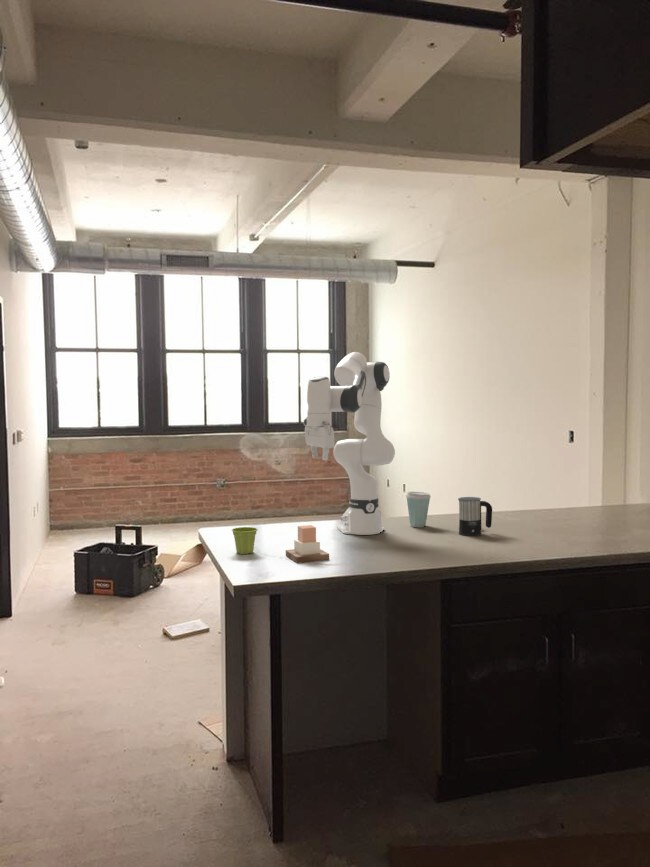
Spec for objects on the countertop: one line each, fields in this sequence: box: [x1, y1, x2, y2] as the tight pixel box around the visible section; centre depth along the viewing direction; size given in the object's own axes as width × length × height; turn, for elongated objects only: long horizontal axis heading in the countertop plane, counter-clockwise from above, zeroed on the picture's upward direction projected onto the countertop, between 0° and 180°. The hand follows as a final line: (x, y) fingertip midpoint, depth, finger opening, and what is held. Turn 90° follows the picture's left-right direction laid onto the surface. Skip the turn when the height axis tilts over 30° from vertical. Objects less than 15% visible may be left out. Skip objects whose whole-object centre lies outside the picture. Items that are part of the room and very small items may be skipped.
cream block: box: [293, 539, 321, 555], centre depth 248 cm, size 7×7×4 cm
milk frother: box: [457, 496, 493, 537], centre depth 291 cm, size 14×16×15 cm
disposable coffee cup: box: [405, 491, 431, 528], centre depth 305 cm, size 11×11×15 cm
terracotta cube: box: [297, 524, 317, 543], centre depth 248 cm, size 5×5×5 cm
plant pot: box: [231, 526, 259, 555], centre depth 257 cm, size 9×9×9 cm
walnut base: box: [285, 548, 330, 564], centre depth 248 cm, size 12×12×2 cm
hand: (319, 459), depth 256 cm, fingers open, 8 cm apart
